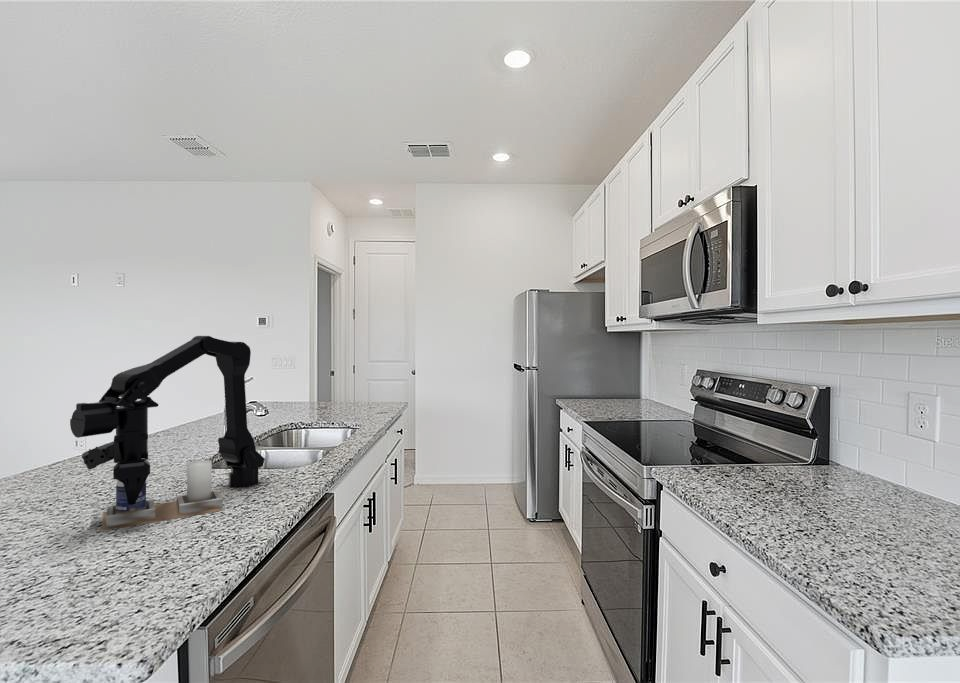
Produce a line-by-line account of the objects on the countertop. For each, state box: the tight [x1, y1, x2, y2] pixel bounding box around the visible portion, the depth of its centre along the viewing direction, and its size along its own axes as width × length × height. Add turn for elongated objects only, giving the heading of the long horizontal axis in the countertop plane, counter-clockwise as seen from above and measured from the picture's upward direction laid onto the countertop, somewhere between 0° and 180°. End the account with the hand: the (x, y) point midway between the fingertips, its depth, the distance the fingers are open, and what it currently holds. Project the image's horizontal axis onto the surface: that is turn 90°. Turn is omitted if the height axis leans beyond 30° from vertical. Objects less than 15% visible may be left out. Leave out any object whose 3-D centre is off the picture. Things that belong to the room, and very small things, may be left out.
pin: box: [186, 459, 213, 503], centre depth 117 cm, size 5×5×10 cm
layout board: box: [100, 489, 223, 532], centre depth 113 cm, size 22×13×4 cm, turn 125°
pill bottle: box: [115, 480, 147, 514], centre depth 109 cm, size 5×5×10 cm
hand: (131, 500), depth 109 cm, fingers closed on pill bottle, 5 cm apart
